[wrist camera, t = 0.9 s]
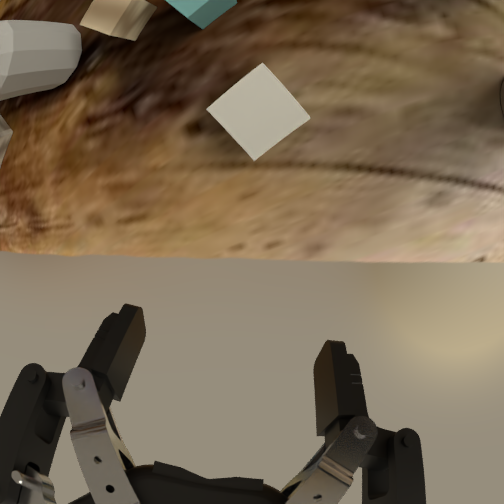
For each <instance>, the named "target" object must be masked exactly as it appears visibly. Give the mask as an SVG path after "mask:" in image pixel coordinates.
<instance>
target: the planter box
mask: <svg viewBox="0 0 504 504" xmlns="http://www.w3.org/2000/svg"><path fill="white" fill-rule="evenodd" d="M12 134H13V131H12V130H11V128H10V127H9V126H8V124H7V123H6V122H5V120H4V119H3V117H2V116H1V115H0V167H1V164H2V161H3V158H4V155H5V152H6V149H7V147H8V144H9V141H10V139H11V136H12Z"/></svg>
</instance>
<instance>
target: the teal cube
mask: <svg viewBox="0 0 504 504" xmlns="http://www.w3.org/2000/svg"><path fill="white" fill-rule="evenodd" d="M166 1H167V2H168V3H169V4H171V5H172V6H173V7H174V8H176V9H177V10H178V11H179V12H181V13H182V14H183V15H184V16H185V17H187V18H188V19H189V20H191V21H192V22H193V23H195V24H196V25H197V26H199V27H200V28H201V29H204V28H205V27H206V26H208V25H209V24H210V23H211V22H213V21H214V20H215V19H216V18H218V17H219V16H220V15H222V14H223V13H224V12H225V11H227V10H228V9H230V8H231V7H232V6H234V5H235V4H236V3H237V1H236V0H166Z"/></svg>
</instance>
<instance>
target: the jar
mask: <svg viewBox="0 0 504 504" xmlns="http://www.w3.org/2000/svg"><path fill="white" fill-rule="evenodd" d="M81 52H82V46H81V34H80V33H79V31H78V30H77V29H76V28H75V27H74V26H73V25H72V24H64V23H55V22H44V21H26V20H5V21H0V101H1V100H4V99H8V98H12V97H16V96H20V95H24V94H29V93H33V92H38V91H44V90H49V89H53V88H55V87H57V86H59V85H61V84H63V83H65V82H66V80H67V79H68V78H69V76H70V75H71V74H72V73H73V71H74V70H75V69H76V67H77V65H78V61H79V58H80V55H81Z"/></svg>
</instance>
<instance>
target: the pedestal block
mask: <svg viewBox="0 0 504 504" xmlns="http://www.w3.org/2000/svg"><path fill="white" fill-rule="evenodd" d="M207 111H208V112H209V113H210V114H211V115H212V116H213V117H214V118H215V119H216V120H217V121H218V122H219V123H220V124H221V125H222V126H223V127H224V128H225V129H226V131H227V132H228V133H229V134H230V135H231V136H232V137H233V138H234V139H235V140H236V141H237V142H238V144H239V145H240V146H241V147H242V148H243V149H244V150H245V151H246V152H247V153H248V155H249V156H250V157H251V158H252V159H253V160H254V161H255V160H256V159H257V158H258V157H260V156H261V155H262V154H264V153H265V152H266V151H267V150H269V149H270V148H271V147H273V146H274V145H275V144H277V143H278V142H279V141H281V140H282V139H283V138H285V137H286V136H287V135H289V134H290V133H291V132H293V131H294V130H295V129H297V128H298V127H299V126H301V125H302V124H303V123H305V122H306V121H308V120H309V119H310V116H309V115H308V114H307V113H306V111H305V110H304V109H303V108H302V107H301V105H300V104H299V103H298V102H297V101H296V99H295V98H294V97H293V96H292V95H291V93H290V92H289V91H288V90H287V89H286V88H285V87H284V85H283V84H282V83H281V82H280V81H279V80H278V79H277V78H276V77H275V75H274V74H273V73H272V72H271V71H270V70H269V69H268V68H267V67H266V66H265V65H264V64H263V63H262V64H260V65H259V66H258V67H256V68H255V69H254V70H252V71H251V72H250V73H249V74H247V75H246V76H245V77H244V78H242V79H241V80H240V81H239V82H237V83H236V84H235V85H234V86H232V87H231V88H230V89H229V90H228V91H227V92H225V93H224V94H223V95H222V96H221V97H220V98H218V99H217V100H216V101H215V102H214V103H213V104H212V105H210V106H209V107H208V108H207Z"/></svg>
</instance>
